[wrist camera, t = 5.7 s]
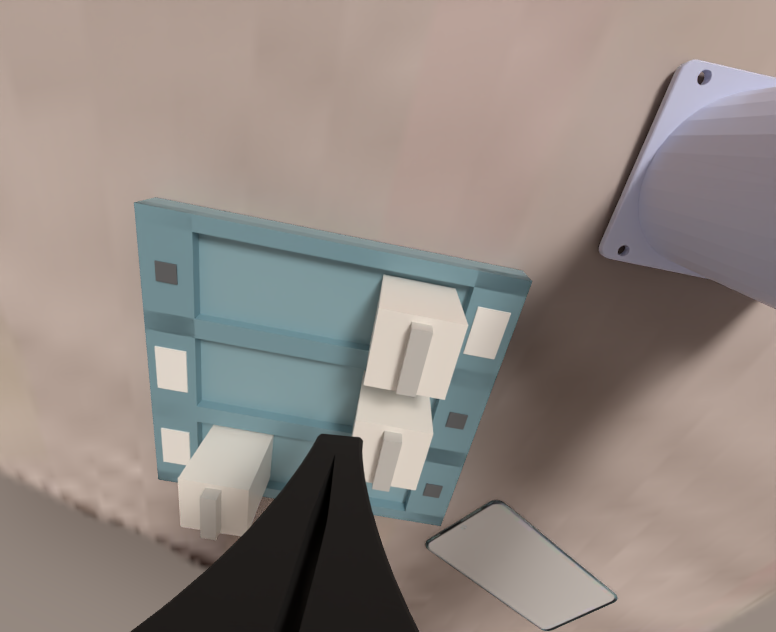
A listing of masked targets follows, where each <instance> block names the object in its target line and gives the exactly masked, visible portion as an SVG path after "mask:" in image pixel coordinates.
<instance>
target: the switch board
mask: <svg viewBox="0 0 776 632" xmlns="http://www.w3.org/2000/svg"><path fill="white" fill-rule="evenodd" d="M134 208H135V220H136V231H137V242H138V254H139V265H140V277H141V288H142V299H143V311H144V322H145V333H146V345H147V356H148V367H149V379H150V390H151V401H152V413H153V424H154V436H155V447H156V458H157V470H158V479H159V480H165V481H171V482H177V483H178V477H179V476H180V474H181V473H182V471H183V470H184V468H185V467H186V465H187V464H188V462H189V461H190V459H191V458H192V456H193V455H194V453H195V452H196V450H197V449H198V447H199V446H200V444H201V443H202V441H203V440H204V438H205V437H206V435H207V434H208V432H209V431H210V429H211V428H212V426H213V425H219V426H224V427H230V428H236V429H242V430H248V431H253V432H259V433H265V434H271V435H274V438H273V450H272V461H271V473H270V479H269V482H268V484H267V487H266V489H265V492H264V494H263V497H268V498H274V499H275V498H276V497H277V495H278V494H279V493H280V492H281V490H282V489H283V488H284V487H285V485H286V484H287V483H288V481H289V480H290V478H291V477H292V476H293V474H294V473H295V472H296V470H297V469H298V467H299V466H300V465H301V463H302V462H303V460H304V459H305V457H306V455H307V454H308V452H309V451H310V449H311V447H312V446H313V444H314V442H315V440H316V439H317V437H318V436H319V435H320V434H332V435H342V436H352V431H353V425H354V420H355V415H356V409H357V404H358V399H359V394H360V389H361V384H362V379H363V374H364V370H365V371H366V366H367V360H368V353H369V347H370V341H371V336H372V331H373V326H374V321H375V316H376V311H377V305H378V300H379V295H380V290H381V285H382V280H383V275H384V274H385V275H390V276H395V277H400V278H405V279H410V280H416V281H421V282H426V283H431V284H436V285H441V286H446V287H451V288H456V291H457V294H458V297H459V300H460V303H461V306H462V309H463V311H464V314H465V317H466V320H467V323H468V328H467V331H466V334H465V337H464V340H463V344H462V347H461V350H460V353H459V356H458V359H457V363H456V366H455V369H454V372H453V375H452V379H451V382H450V385H449V388H448V391H447V394H446V398H445V400H442V399H437V398H431V397H430V405H431V415H432V425H433V437H432V440H431V443H430V446H429V450H428V453H427V456H426V459H425V462H424V465H423V469H422V472H421V475H420V478H419V481H418V484H417V488H416V490H410V489H404V488H398V487H392V486H390V490H389V492H387V491H381V490H375V489H372V484H373V483H369V482H366V485H367V490H368V495H369V500H370V504H371V508H372V512H373V515H377V516H383V517H389V518H395V519H401V520H407V521H413V522H419V523H425V524H431V525H437V526H441V524H442V521H443V518H444V516H445V513H446V510H447V508H448V505H449V502H450V500H451V497H452V494H453V492H454V489H455V486H456V484H457V481H458V478H459V476H460V473H461V470H462V468H463V465H464V462H465V460H466V457H467V454H468V452H469V449H470V446H471V444H472V441H473V438H474V436H475V433H476V430H477V428H478V425H479V422H480V420H481V417H482V414H483V412H484V409H485V406H486V404H487V401H488V398H489V396H490V393H491V390H492V388H493V385H494V382H495V380H496V377H497V374H498V372H499V369H500V366H501V364H502V361H503V358H504V356H505V353H506V350H507V348H508V345H509V342H510V340H511V337H512V334H513V332H514V329H515V326H516V324H517V321H518V318H519V316H520V313H521V310H522V308H523V305H524V302H525V300H526V297H527V294H528V292H529V289H530V286H531V284H532V281H531V280H530V278H529V277H528V276H527V275H526V274H525V273H524V272H523V271H522V270H517V269H512V268H507V267H502V266H497V265H492V264H487V263H482V262H477V261H472V260H467V259H462V258H457V257H452V256H447V255H442V254H437V253H432V252H427V251H422V250H417V249H412V248H407V247H402V246H397V245H392V244H387V243H382V242H377V241H372V240H367V239H362V238H357V237H351V236H346V235H341V234H336V233H331V232H326V231H321V230H316V229H311V228H306V227H301V226H296V225H291V224H286V223H281V222H276V221H271V220H266V219H261V218H256V217H251V216H246V215H241V214H236V213H231V212H226V211H221V210H216V209H211V208H206V207H201V206H196V205H191V204H186V203H181V202H176V201H171V200H166V199H161V198H156V197H155V198H151V199H147V200H143V201H138V202H134Z"/></svg>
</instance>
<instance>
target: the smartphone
mask: <svg viewBox="0 0 776 632" xmlns="http://www.w3.org/2000/svg"><path fill="white" fill-rule="evenodd" d="M426 548H427V549H428V550H430V551H431V552H432V553H434V554H435V555H437V556H438V557H440V558H441V559H442V560H444V561H445V562H447V563H448V564H449V565H451V566H452V567H454V568H455V569H457V570H458V571H459V572H461V573H462V574H464V575H465V576H466V577H468V578H469V579H471V580H472V581H474V582H475V583H476V584H478V585H479V586H481V587H482V588H483V589H485V590H486V591H488V592H489V593H491V594H492V595H493V596H495V597H496V598H498V599H499V600H500V601H502V602H503V603H505V604H506V605H507V606H509V607H510V608H512V609H513V610H515V611H516V612H517V613H519V614H520V615H522V616H523V617H524V618H526V619H527V620H529V621H530V622H532V623H533V624H534V625H536V626H537V627H539V628H540V629H541V630H544V631H551V630H554V629H556V628H558V627H560V626H563V625H565V624H567V623H569V622H572V621H574V620H576V619H578V618H581V617H583V616H585V615H587V614H590V613H592V612H594V611H596V610H598V609H601V608H603V607H605V606H607V605H610V604H612V603H614V602H615V601H617V599H618V598H617V595H616V594H615V593H614V592H613V591H612V590H610V589H609V588H608V587H607V586H605V585H604V584H603V583H602V582H601V581H599V580H598V579H597V578H596V577H594V576H593V575H592V574H591V573H590V572H588V571H587V570H586V569H585V568H583V567H582V566H581V565H580V564H579V563H577V562H576V561H575V560H574V559H572V558H571V557H570V556H569V555H567V554H566V553H565V552H564V551H563V550H561V549H560V548H559V547H558V546H556V545H555V544H554V543H553V542H552V541H550V540H549V539H548V538H547V537H545V536H544V535H543V534H542V533H541V532H539V530H537V529H536V528H535V527H534V526H532V525H531V524H530V523H529V522H528V521H526V520H525V519H524V518H522V517H521V516H520V515H519V514H518V513H516V512H515V511H514V510H513V509H512V508H510V507H509V506H507V505H506V504H505V503H504V502H502V501H499V500H494V501H491V502H489V503H487V504H485V505H484V506H482V507H480V508H479V509H477V510H476V511H474V512H472V513H471V514H469V515H467V516H466V517H464V518H462V519H461V520H459V521H458V522H456V523H454V524H453V525H451V526H449V527H448V528H446V529H444V530H443V531H441V532H440V533H438V534H436V535H435V536H433V537H431V538H430V539H428V540H427V541H426Z"/></svg>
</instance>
